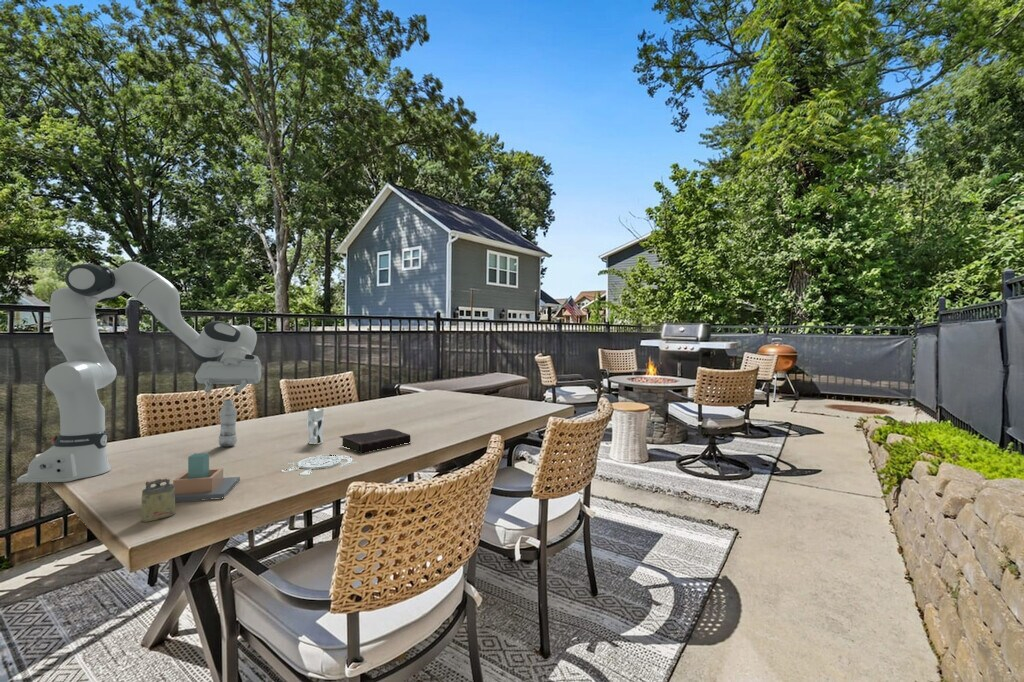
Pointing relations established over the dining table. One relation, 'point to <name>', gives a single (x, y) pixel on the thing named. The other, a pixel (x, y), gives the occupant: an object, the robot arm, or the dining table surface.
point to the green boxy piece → (158, 500)
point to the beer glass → (315, 425)
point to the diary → (375, 440)
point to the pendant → (319, 463)
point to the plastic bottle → (227, 424)
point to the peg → (198, 465)
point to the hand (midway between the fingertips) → (222, 391)
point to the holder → (203, 486)
